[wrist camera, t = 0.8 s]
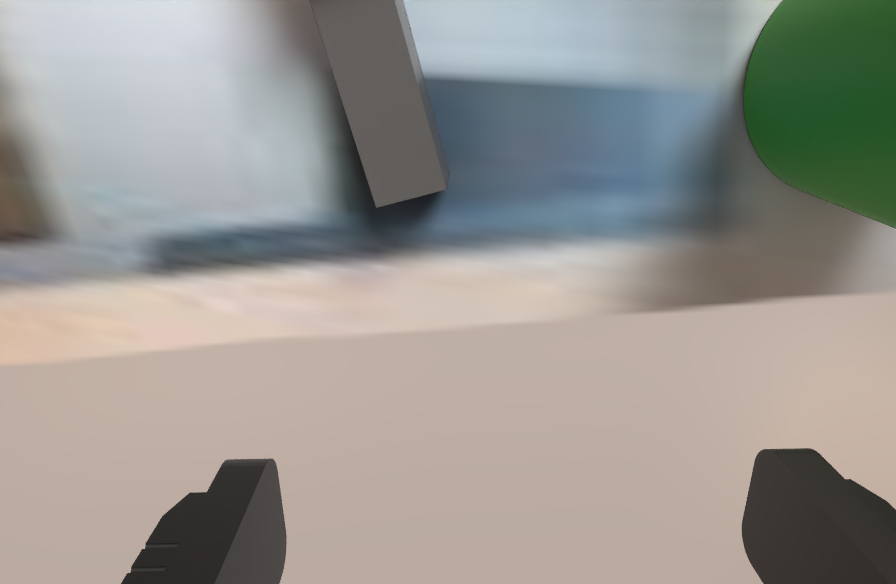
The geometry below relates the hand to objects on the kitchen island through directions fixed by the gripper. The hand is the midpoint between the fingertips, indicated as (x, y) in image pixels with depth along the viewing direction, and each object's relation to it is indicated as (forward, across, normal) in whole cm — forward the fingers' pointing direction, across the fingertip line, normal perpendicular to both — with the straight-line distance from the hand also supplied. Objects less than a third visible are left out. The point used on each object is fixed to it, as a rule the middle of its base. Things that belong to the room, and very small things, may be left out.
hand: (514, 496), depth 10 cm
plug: (+19, +4, -9) cm, 21 cm away
